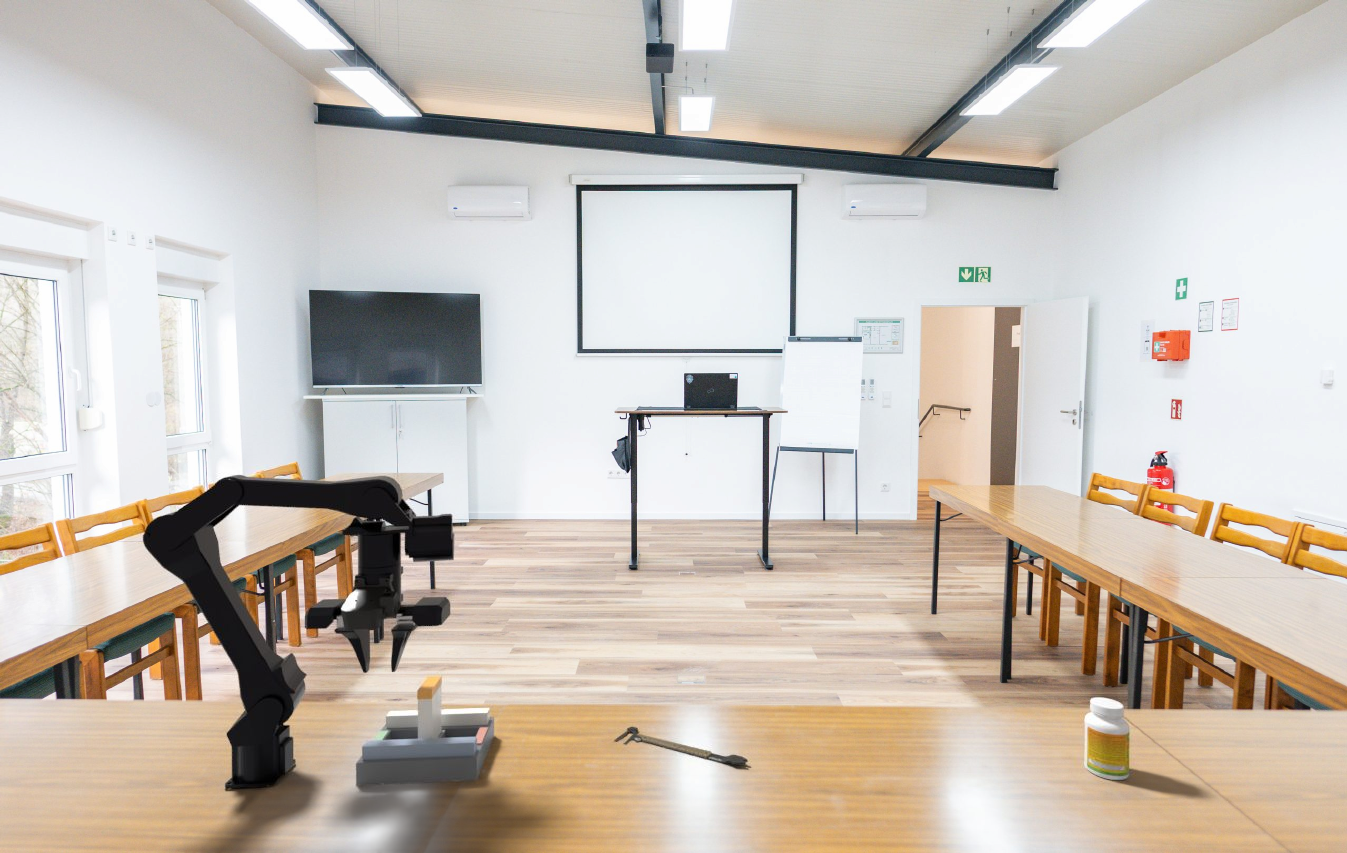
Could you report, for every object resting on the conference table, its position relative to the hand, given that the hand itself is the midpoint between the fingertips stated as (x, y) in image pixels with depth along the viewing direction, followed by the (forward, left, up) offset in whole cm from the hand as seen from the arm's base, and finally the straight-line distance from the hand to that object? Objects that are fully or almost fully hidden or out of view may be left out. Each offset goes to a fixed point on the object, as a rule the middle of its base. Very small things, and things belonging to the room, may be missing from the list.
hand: (380, 671), depth 98 cm
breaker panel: (+7, 0, -13) cm, 15 cm away
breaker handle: (+7, 0, -11) cm, 13 cm away
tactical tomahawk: (+43, -1, -14) cm, 45 cm away
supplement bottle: (+103, -11, -13) cm, 104 cm away
